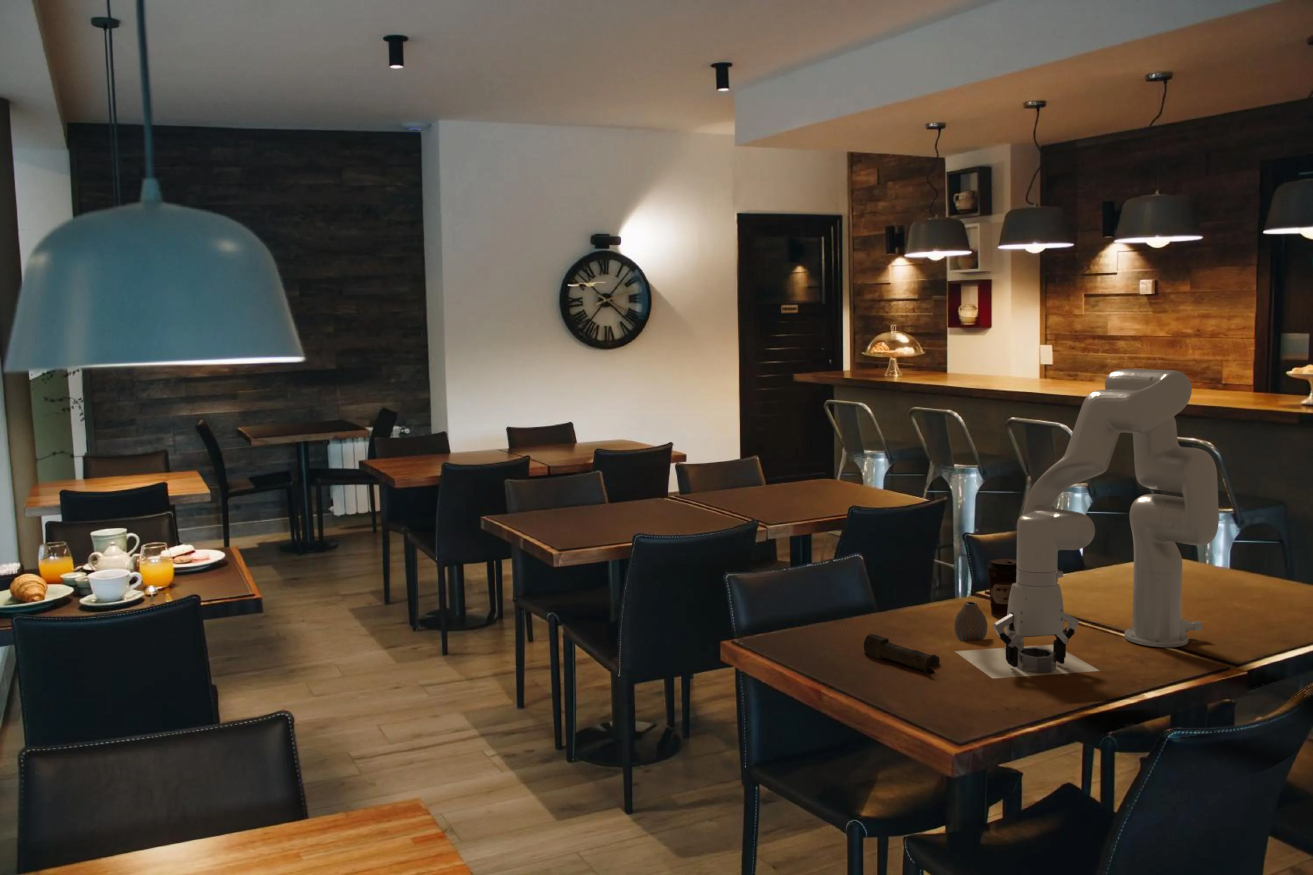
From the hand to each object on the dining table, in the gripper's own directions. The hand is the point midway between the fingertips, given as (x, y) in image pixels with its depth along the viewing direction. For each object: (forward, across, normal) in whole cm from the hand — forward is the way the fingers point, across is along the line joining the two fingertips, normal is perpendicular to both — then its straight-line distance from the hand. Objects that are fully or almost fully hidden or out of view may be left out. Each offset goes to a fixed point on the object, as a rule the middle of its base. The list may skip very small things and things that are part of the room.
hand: (1035, 663), depth 218 cm
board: (+2, 0, -4) cm, 5 cm away
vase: (+3, +3, -24) cm, 24 cm away
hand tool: (+3, +24, -13) cm, 27 cm away
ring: (+1, 0, 0) cm, 1 cm away
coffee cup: (+2, -14, -42) cm, 45 cm away
